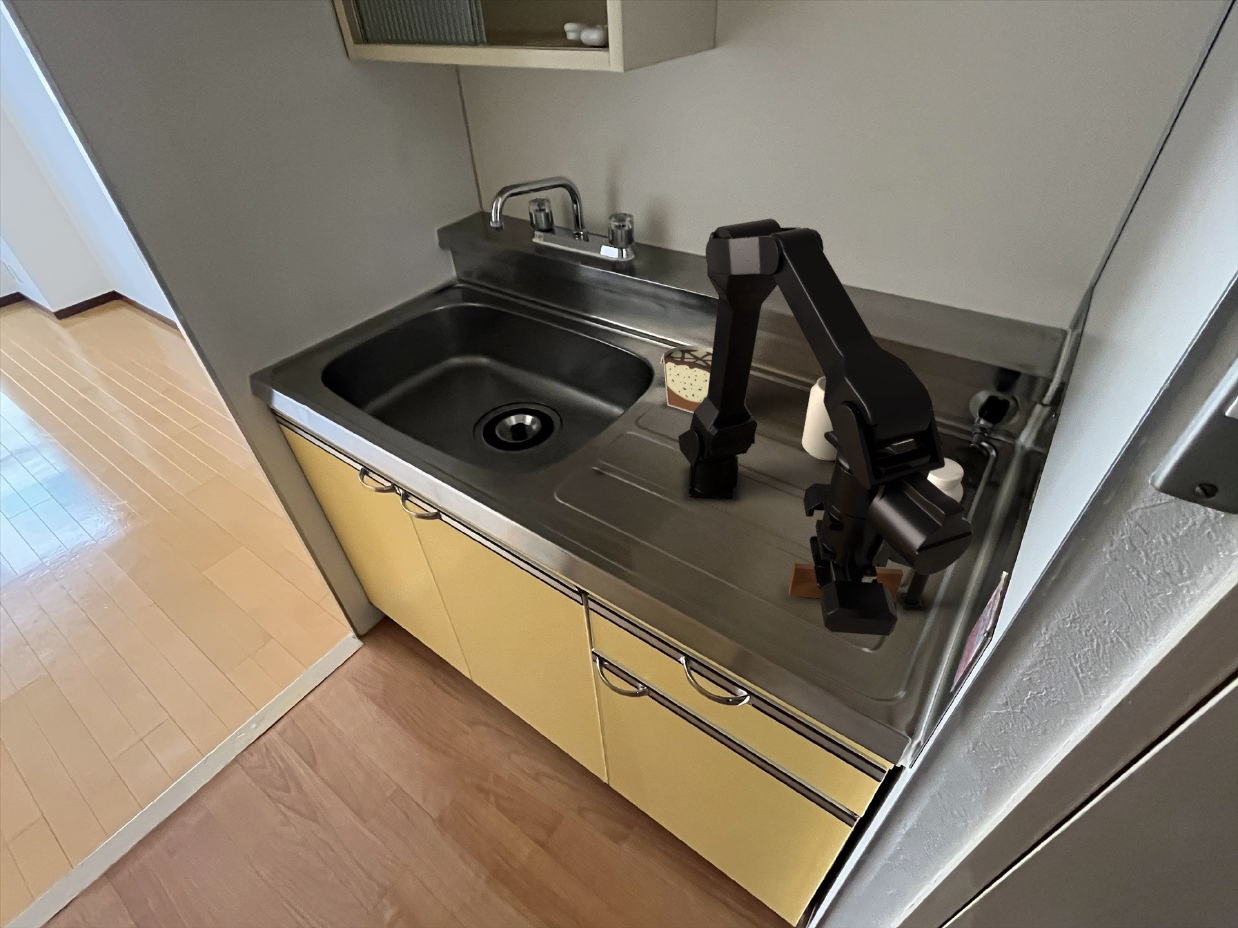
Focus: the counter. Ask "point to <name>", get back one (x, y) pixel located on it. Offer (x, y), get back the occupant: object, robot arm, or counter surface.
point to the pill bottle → (948, 479)
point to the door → (807, 587)
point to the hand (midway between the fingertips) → (831, 605)
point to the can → (818, 425)
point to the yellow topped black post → (914, 592)
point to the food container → (687, 376)
